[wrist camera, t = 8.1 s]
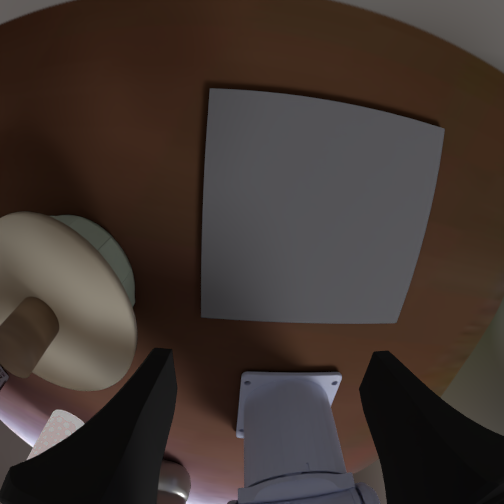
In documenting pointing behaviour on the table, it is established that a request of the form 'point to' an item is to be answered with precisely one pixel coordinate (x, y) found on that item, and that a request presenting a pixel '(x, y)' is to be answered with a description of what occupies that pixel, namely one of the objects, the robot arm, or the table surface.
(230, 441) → the table surface
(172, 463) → the plastic bottle
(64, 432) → the beverage cup
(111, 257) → the bowl
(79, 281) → the board
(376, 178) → the mat
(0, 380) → the supplement box
